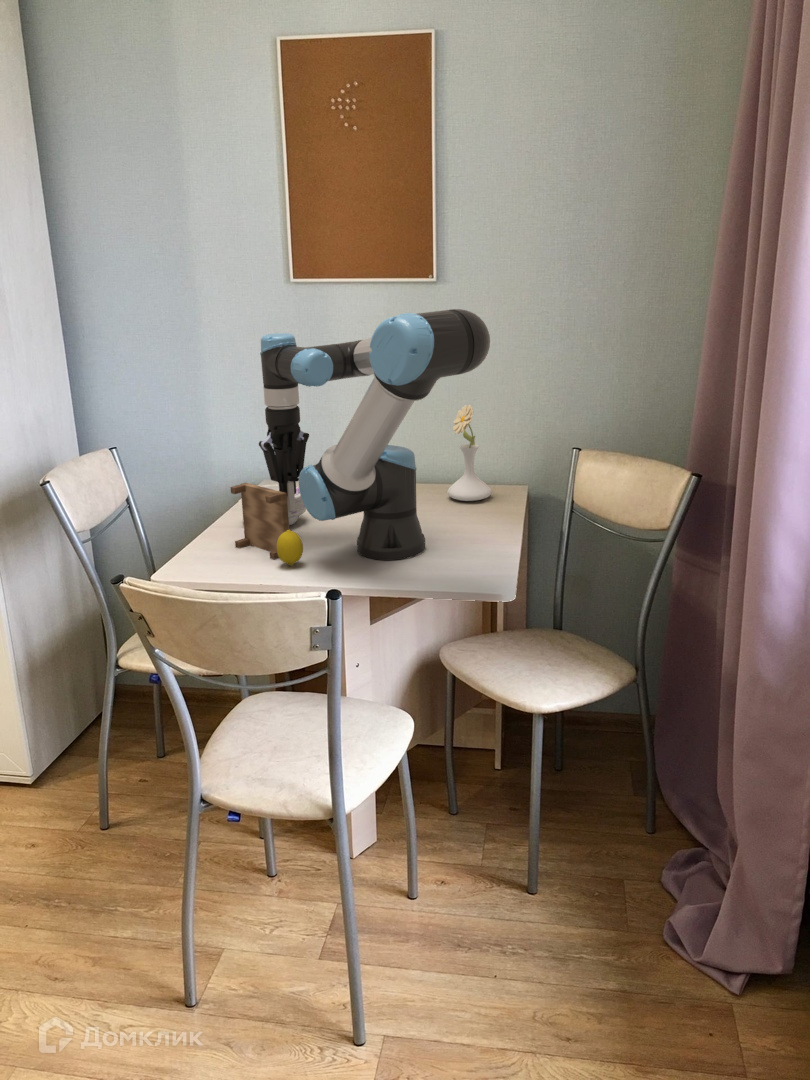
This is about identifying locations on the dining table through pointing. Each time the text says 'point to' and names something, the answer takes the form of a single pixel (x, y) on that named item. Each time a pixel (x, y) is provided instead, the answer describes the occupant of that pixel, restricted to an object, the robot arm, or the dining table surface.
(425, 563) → the dining table surface
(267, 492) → the footstool
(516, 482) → the dining table surface
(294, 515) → the paper bowls
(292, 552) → the lemon
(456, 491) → the flower in vase
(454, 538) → the dining table surface
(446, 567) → the dining table surface
